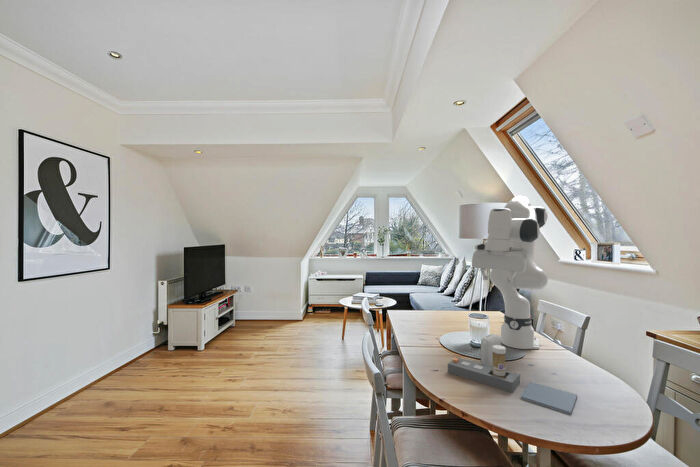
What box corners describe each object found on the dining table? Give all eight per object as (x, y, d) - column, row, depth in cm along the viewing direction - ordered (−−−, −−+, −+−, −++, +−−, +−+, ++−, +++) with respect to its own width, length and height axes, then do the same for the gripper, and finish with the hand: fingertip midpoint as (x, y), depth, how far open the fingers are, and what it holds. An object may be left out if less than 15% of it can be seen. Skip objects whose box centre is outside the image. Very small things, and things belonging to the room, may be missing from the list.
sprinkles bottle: (497, 386, 114) (497, 349, 114) (489, 380, 118) (489, 344, 118) (508, 385, 115) (508, 348, 115) (500, 379, 119) (500, 344, 119)
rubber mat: (530, 383, 116) (530, 381, 116) (577, 397, 106) (577, 394, 106) (520, 398, 105) (520, 396, 105) (570, 414, 96) (570, 412, 96)
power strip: (457, 365, 132) (457, 355, 132) (519, 383, 116) (519, 371, 116) (447, 372, 125) (447, 361, 125) (512, 392, 109) (512, 380, 109)
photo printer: (493, 359, 138) (493, 331, 138) (502, 362, 135) (502, 333, 135) (479, 364, 133) (479, 335, 133) (488, 368, 129) (488, 338, 129)
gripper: (529, 248, 123) (528, 284, 122) (476, 246, 137) (475, 278, 136) (525, 247, 118) (523, 284, 117) (471, 245, 132) (469, 278, 131)
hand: (497, 281), depth 126 cm, fingers open, 8 cm apart
